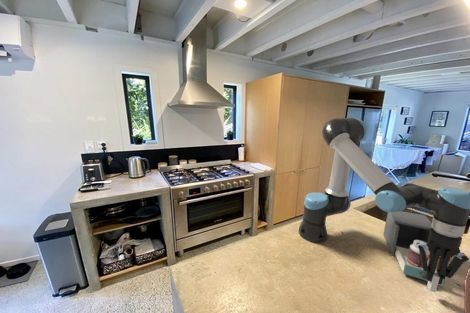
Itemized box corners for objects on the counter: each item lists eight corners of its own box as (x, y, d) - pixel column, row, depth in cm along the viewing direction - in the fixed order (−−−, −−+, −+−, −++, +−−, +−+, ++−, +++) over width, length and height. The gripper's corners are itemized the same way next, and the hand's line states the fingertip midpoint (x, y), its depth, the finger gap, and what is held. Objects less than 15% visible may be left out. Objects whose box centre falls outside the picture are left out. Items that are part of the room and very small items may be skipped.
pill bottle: (423, 273, 79) (429, 250, 76) (404, 263, 84) (409, 241, 81) (427, 267, 82) (433, 244, 80) (409, 258, 87) (414, 236, 85)
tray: (393, 249, 94) (395, 241, 93) (425, 257, 88) (428, 249, 87) (404, 275, 78) (406, 266, 78) (444, 288, 73) (447, 278, 72)
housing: (383, 234, 107) (388, 208, 104) (418, 242, 100) (425, 215, 97) (390, 254, 92) (397, 225, 88) (432, 266, 85) (441, 234, 82)
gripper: (424, 232, 65) (411, 289, 70) (480, 244, 59) (462, 305, 64) (417, 221, 72) (405, 274, 77) (466, 231, 66) (450, 288, 71)
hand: (431, 288), depth 70 cm, fingers closed
